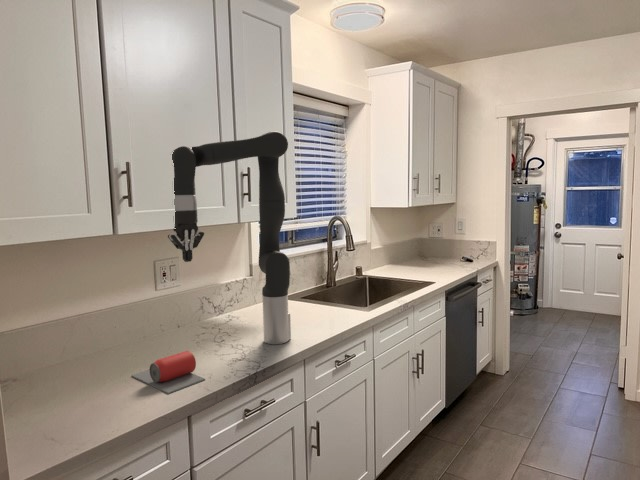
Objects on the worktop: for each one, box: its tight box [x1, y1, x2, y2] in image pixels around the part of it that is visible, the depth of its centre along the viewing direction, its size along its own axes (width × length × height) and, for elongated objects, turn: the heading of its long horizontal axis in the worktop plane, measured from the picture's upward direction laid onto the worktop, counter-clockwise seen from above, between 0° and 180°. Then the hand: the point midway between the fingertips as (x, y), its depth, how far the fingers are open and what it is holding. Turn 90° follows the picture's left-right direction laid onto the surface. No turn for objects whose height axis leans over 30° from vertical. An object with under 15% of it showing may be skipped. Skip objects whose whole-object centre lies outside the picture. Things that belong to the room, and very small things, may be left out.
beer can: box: [148, 350, 197, 383], centre depth 136 cm, size 7×7×12 cm
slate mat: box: [131, 369, 206, 395], centre depth 136 cm, size 12×20×1 cm, turn 50°
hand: (187, 261), depth 152 cm, fingers closed
